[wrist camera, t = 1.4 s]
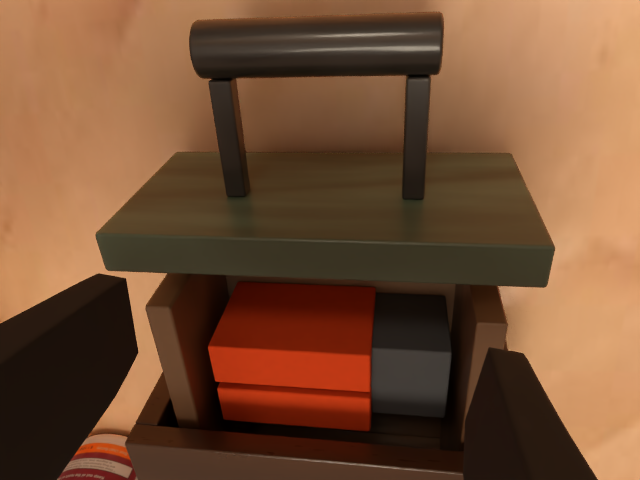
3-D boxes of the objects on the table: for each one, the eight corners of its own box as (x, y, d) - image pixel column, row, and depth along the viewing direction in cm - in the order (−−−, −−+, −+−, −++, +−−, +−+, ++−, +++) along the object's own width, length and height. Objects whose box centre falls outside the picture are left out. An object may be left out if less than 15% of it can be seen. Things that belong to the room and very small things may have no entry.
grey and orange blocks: (248, 350, 21) (222, 421, 18) (237, 280, 20) (206, 346, 17) (439, 361, 20) (446, 439, 17) (446, 289, 19) (454, 361, 15)
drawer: (146, 6, 16) (32, 43, 11) (535, -9, 14) (604, 26, 9) (229, 413, 25) (187, 530, 20) (470, 431, 24) (488, 564, 19)
